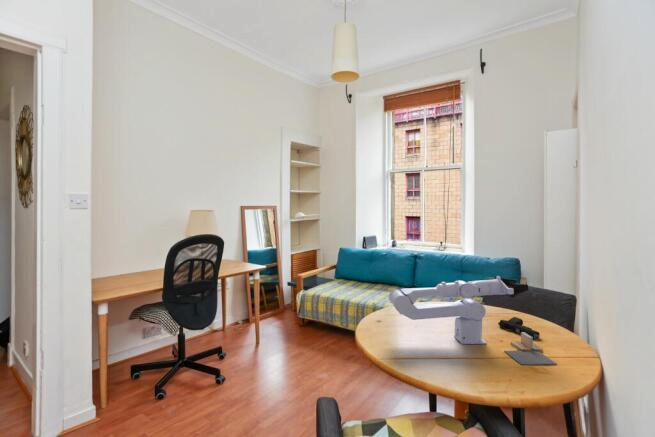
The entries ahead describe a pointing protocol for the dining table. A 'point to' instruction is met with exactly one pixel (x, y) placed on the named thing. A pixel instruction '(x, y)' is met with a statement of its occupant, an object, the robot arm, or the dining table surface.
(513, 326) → the handgun
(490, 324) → the dining table surface
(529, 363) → the mat
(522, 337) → the tile
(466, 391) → the dining table surface
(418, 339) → the dining table surface
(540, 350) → the tile rack
